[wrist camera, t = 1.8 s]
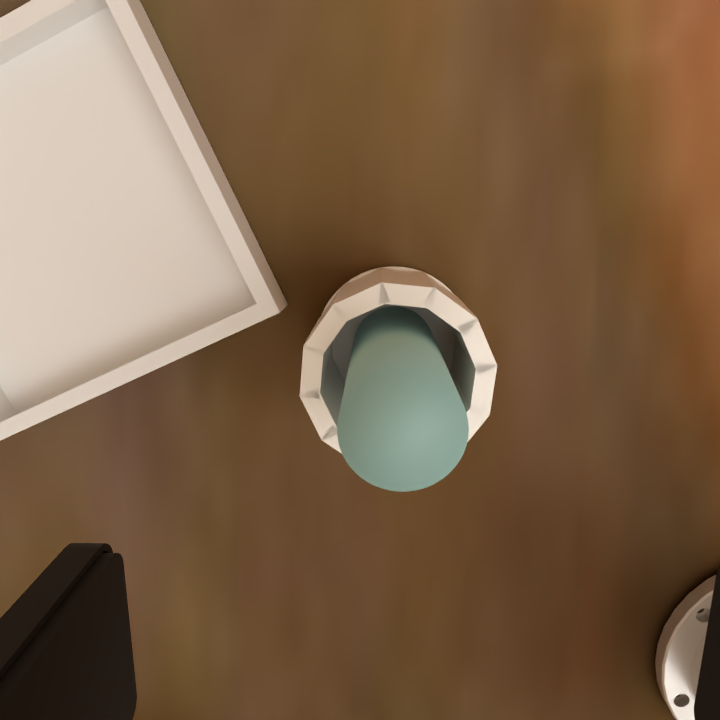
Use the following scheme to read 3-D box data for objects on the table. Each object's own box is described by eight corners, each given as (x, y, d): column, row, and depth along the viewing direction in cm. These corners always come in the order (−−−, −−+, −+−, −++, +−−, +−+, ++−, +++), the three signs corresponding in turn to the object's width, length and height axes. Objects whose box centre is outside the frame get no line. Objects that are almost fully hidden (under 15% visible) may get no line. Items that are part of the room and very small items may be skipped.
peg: (414, 292, 29) (437, 346, 18) (446, 365, 30) (488, 462, 19) (340, 326, 30) (315, 399, 18) (373, 397, 31) (369, 510, 19)
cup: (434, 239, 29) (450, 248, 23) (493, 380, 31) (526, 428, 24) (290, 305, 30) (264, 332, 24) (355, 439, 32) (349, 500, 25)
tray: (130, -19, 27) (105, -42, 25) (287, 304, 30) (280, 312, 28) (-156, 139, 29) (-205, 133, 27) (20, 427, 32) (-9, 444, 30)
